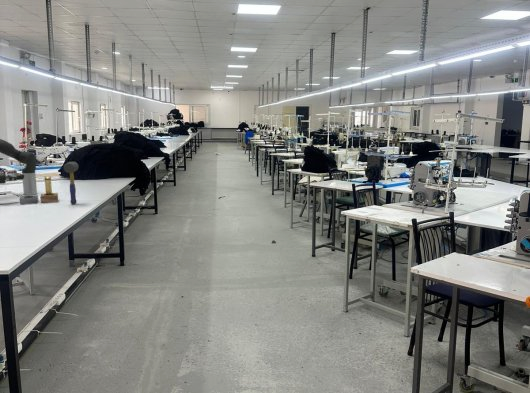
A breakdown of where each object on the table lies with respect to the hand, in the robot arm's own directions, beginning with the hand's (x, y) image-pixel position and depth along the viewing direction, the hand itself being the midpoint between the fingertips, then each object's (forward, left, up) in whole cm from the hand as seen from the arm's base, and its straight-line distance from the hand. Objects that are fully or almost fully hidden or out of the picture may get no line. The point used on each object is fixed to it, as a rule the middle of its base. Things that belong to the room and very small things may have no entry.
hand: (23, 177), depth 304 cm
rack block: (+1, +15, -18) cm, 24 cm away
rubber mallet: (+19, +31, -18) cm, 41 cm away
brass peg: (+1, +15, -18) cm, 24 cm away
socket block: (+1, +2, -18) cm, 18 cm away
